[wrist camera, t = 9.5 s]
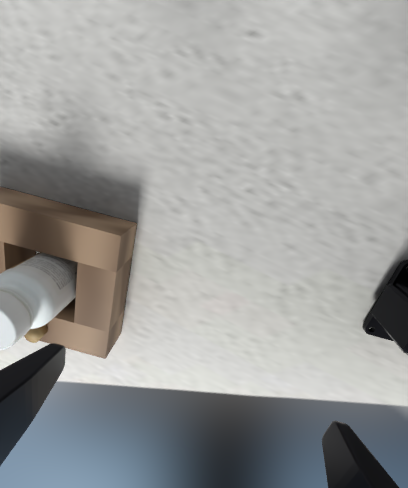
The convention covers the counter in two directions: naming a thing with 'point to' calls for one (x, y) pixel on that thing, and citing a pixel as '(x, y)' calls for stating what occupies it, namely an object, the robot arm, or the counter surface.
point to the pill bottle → (34, 294)
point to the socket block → (88, 269)
